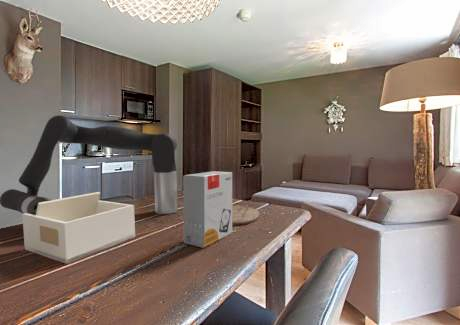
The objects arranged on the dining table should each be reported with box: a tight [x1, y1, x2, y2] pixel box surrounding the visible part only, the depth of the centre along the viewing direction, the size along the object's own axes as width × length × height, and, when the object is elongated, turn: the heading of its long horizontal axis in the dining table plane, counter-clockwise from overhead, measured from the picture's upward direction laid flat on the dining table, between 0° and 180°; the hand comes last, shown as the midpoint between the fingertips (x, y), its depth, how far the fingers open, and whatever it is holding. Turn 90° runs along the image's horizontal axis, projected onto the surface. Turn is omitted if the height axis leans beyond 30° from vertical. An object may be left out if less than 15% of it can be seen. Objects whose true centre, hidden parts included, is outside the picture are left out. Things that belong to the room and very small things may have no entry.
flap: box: [36, 191, 101, 222], centre depth 80 cm, size 1×18×12 cm, turn 153°
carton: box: [21, 199, 136, 265], centre depth 77 cm, size 20×21×10 cm
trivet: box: [232, 204, 260, 227], centre depth 104 cm, size 25×25×2 cm
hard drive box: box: [182, 170, 233, 249], centre depth 79 cm, size 16×8×20 cm, turn 148°
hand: (66, 216), depth 81 cm, fingers closed
